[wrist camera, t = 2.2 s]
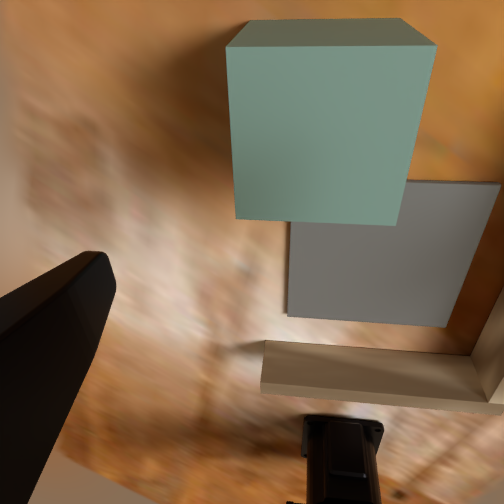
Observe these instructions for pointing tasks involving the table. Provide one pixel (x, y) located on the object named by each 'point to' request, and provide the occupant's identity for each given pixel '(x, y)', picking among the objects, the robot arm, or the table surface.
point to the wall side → (491, 354)
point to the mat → (392, 258)
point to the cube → (325, 117)
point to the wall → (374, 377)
